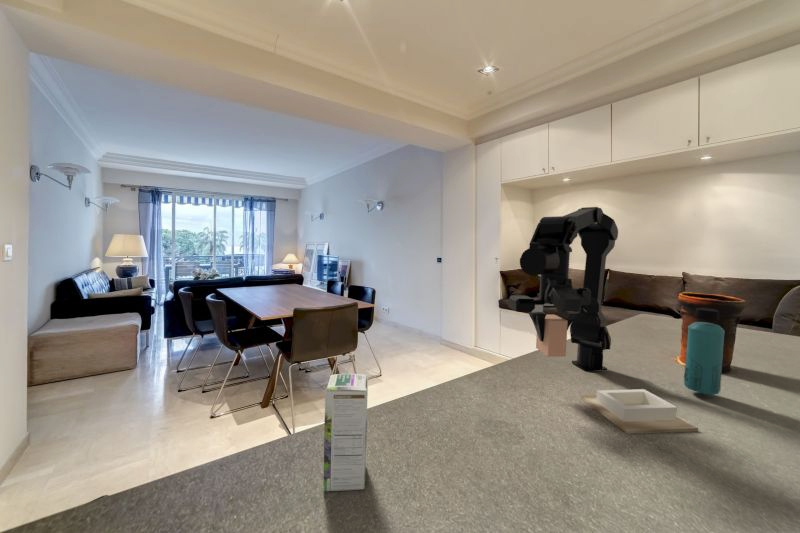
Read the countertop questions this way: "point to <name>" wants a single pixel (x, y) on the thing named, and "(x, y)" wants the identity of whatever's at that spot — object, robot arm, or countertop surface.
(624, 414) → the socket collar
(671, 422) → the socket base
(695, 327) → the beverage bottle
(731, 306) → the vessel
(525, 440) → the countertop surface
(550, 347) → the terracotta peg
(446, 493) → the countertop surface
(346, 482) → the syrup box
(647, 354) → the countertop surface
